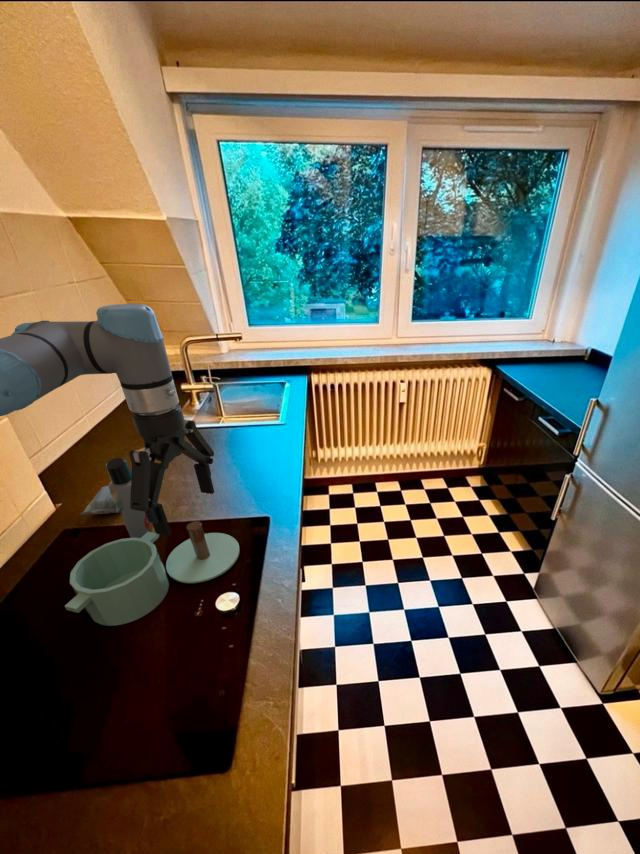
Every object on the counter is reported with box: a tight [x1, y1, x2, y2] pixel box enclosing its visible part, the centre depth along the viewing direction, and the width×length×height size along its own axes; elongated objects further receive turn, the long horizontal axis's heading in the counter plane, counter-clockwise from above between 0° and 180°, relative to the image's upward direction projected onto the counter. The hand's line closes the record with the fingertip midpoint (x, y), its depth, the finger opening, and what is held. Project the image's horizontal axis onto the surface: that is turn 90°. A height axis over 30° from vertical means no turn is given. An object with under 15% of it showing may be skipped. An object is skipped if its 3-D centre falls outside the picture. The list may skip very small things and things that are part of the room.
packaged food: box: [79, 485, 120, 516], centre depth 97 cm, size 9×12×5 cm
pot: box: [64, 532, 170, 627], centre depth 71 cm, size 14×19×8 cm
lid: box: [165, 520, 241, 584], centre depth 79 cm, size 15×15×9 cm
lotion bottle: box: [104, 457, 160, 538], centre depth 82 cm, size 6×6×20 cm
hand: (187, 511), depth 75 cm, fingers open, 13 cm apart
